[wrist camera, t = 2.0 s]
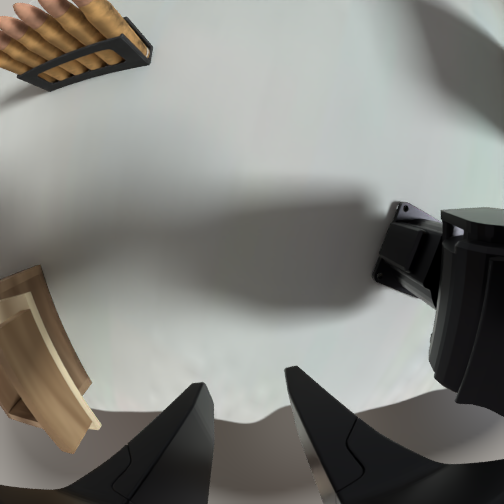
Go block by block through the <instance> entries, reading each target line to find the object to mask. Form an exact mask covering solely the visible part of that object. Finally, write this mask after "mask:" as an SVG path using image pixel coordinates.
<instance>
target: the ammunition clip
mask: <svg viewBox="0 0 504 504" xmlns="http://www.w3.org/2000/svg"><path fill="white" fill-rule="evenodd" d="M72 1H73V2H74V3H75V4H76V5H77V6H78V8H77V7H76V6H74V5H73V4H72V3H70V2H68V1H67V0H38V2H39V3H40V5H41V6H42V7H43V8H44V9H45V10H46V11H47V12H48V13H49V14H50V15H49V14H48V13H45V12H44V11H42V10H41V9H39V8H37V7H35V6H32V5H29V4H25V3H15V4H14V5H13V8H14V11H15V13H16V14H17V16H18V17H19V18H20V19H21V20H22V21H21V20H18V19H16V18H12V17H7V16H0V29H1V30H2V31H1V30H0V68H3V69H6V70H8V71H11V72H13V73H16V74H19V75H17V78H18V79H21V80H23V81H26V82H28V83H31V84H33V85H35V86H38V87H40V88H42V89H45V90H47V91H50V92H51V91H53V90H56V89H59V88H62V87H64V86H67V85H70V84H73V83H76V82H80V81H83V80H86V79H90V78H93V77H97V76H101V75H104V74H108V73H112V72H117V71H121V70H126V69H131V68H136V67H141V66H147V65H150V63H151V56H152V51H153V46H152V45H151V44H150V43H149V41H148V40H147V39H146V38H145V37H144V36H143V35H142V33H141V32H140V31H139V30H138V29H137V28H136V26H135V25H134V24H133V23H132V22H131V21H130V20H129V18H128V17H124V18H123V17H122V16H121V15H120V14H119V13H118V11H117V10H116V9H115V8H114V7H113V6H112V4H111V3H110V2H108V1H107V0H72Z"/></svg>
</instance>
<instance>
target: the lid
mask: <svg viewBox="0 0 504 504" xmlns="http://www.w3.org/2000/svg"><path fill="white" fill-rule="evenodd" d="M0 363H1V365H2V367H3V368H4V370H5V372H6V374H7V376H8V377H9V379H10V381H11V382H12V384H13V386H14V387H15V389H16V391H17V392H18V394H19V395H20V397H21V398H22V400H23V401H24V403H25V404H26V406H27V407H28V409H29V410H30V412H31V413H32V414H33V416H34V417H35V418H36V420H37V421H38V422H39V424H40V425H41V426H42V428H43V429H44V430H45V431H46V433H47V434H48V435H49V436H50V437H51V439H52V440H53V441H54V442H55V444H56V445H57V446H58V447H59V448H60V449H61V450H62V451H64V452H67V453H71V454H74V452H75V451H76V449H77V447H78V445H79V444H80V442H81V440H82V439H83V437H84V435H85V433H86V432H87V430H88V429H96V430H99V429H100V427H101V423H100V422H99V421H98V419H97V418H96V416H95V415H94V413H93V412H92V411H91V409H90V408H89V406H88V405H87V403H86V402H85V400H84V399H83V397H82V395H81V394H80V392H79V391H78V389H77V387H76V386H75V384H74V382H73V381H72V379H71V377H70V376H69V374H68V372H67V370H66V369H65V367H64V365H63V363H62V361H61V359H60V357H59V355H58V354H57V352H56V350H55V348H54V346H53V344H52V341H51V339H50V337H49V335H48V333H47V331H46V329H45V326H44V324H43V322H42V319H41V317H40V315H39V312H38V310H37V307H36V305H35V302H34V299H33V297H32V294H31V292H27V293H24V294H20V295H17V296H13V297H10V298H6V299H3V300H0Z"/></svg>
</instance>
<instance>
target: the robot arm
mask: <svg viewBox="0 0 504 504" xmlns="http://www.w3.org/2000/svg"><path fill="white" fill-rule="evenodd" d="M404 206H406V210H405V211H404V210H403V207H404ZM441 220H442V222H440V221H439V220H437V219H435V218H434V217H432V216H430V215H429V214H427V213H425V212H424V211H422V210H420V209H418V208H417V207H415V206H413V205H411V204H410V203H408V202H401V203H400V204H399V206H398V209H397V212H396V214H395V217H394V220H393V223H391V224H390V227H389V229H388V232H387V235H386V237H385V240H384V243H383V245H382V248H381V250H380V253H379V254H380V257H379V259H378V261H377V264H376V266H375V269H374V271H373V274H372V278H373V279H374V280H375V281H376V282H378V283H381V284H383V285H386V286H389V287H391V288H394V289H397V290H399V291H402V292H405V293H407V294H410V295H412V296H415V297H418V298H420V299H421V300H423V301H424V302H425V303H427V304H428V305H430V306H431V307H432V308H434V309H435V310H436V315H435V321H434V327H433V333H432V334H431V338H430V348H429V362H430V364H431V366H432V368H433V371H434V372H435V374H434V378H435V379H436V380H437V381H438V382H439V383H440V384H441V385H443V386H444V387H446V388H447V389H449V390H451V391H453V392H455V393H458V394H457V396H456V399H455V402H456V403H459V404H473V405H477V406H481V407H485V408H487V409H490V410H492V411H494V412H496V413H498V414H499V415H501V416H503V417H504V209H498V208H489V207H481V208H464V209H448V210H441ZM379 273H380V274H381V275H380V277H378V278H377V275H378V274H379ZM284 372H285V378H286V384H287V390H288V394H289V399H290V403H291V407H292V411H293V415H294V420H295V424H296V428H297V432H298V435H299V438H300V441H301V444H302V447H303V449H304V452H305V455H306V458H307V460H308V463H309V466H310V469H311V471H312V474H313V477H314V480H315V482H316V485H317V488H318V490H319V493H320V496H321V499H322V501H323V504H504V459H502V460H495V461H488V462H479V463H468V464H443V463H439V462H435V461H432V460H430V459H428V458H425V457H423V456H421V455H419V454H417V453H415V452H413V451H411V450H409V449H407V448H405V447H403V446H401V445H399V444H398V443H396V442H394V441H392V440H390V439H389V438H387V437H385V436H384V435H382V434H380V433H379V432H377V431H376V430H374V429H373V428H372V427H370V426H369V425H368V424H366V423H365V422H364V421H363V420H361V419H360V418H358V417H357V416H356V415H355V414H354V413H352V412H351V411H350V410H349V409H347V408H346V407H345V406H344V405H343V404H341V403H340V402H339V401H338V400H337V399H335V398H334V397H333V396H332V395H331V394H329V393H328V392H327V391H326V390H325V389H324V388H322V387H321V386H320V385H319V384H318V383H316V382H315V381H314V380H313V379H312V378H311V377H310V376H308V375H307V374H306V373H305V372H304V371H303V370H302V369H300V368H299V367H298V366H292V367H288V368H285V370H284ZM213 451H214V403H213V400H212V397H211V395H210V393H209V391H208V388H207V386H206V384H205V383H203V382H200V383H192V384H191V385H190V386H189V387H188V388H187V389H186V390H185V391H184V392H183V393H182V394H181V395H180V396H178V397H177V398H176V399H175V400H174V401H173V402H172V403H171V404H170V405H169V406H168V407H167V408H166V409H165V410H164V411H163V412H162V413H161V414H159V416H157V417H156V418H155V419H154V420H153V421H152V422H151V423H150V424H149V425H148V426H146V427H145V428H144V429H143V430H142V431H141V432H140V433H139V434H138V435H137V436H135V437H134V438H133V439H132V440H131V441H130V442H129V443H128V445H125V446H124V447H123V448H122V449H121V450H120V451H118V452H117V453H116V454H115V455H113V456H112V457H111V458H110V459H108V460H107V461H106V462H104V463H103V464H102V465H100V466H99V467H97V468H96V469H94V470H93V471H91V472H90V473H88V474H87V475H85V476H84V477H82V478H80V479H79V480H77V481H76V482H74V483H73V484H71V485H69V486H67V487H64V488H61V489H55V490H44V489H28V488H19V487H10V486H4V485H0V504H208V495H209V486H210V477H211V468H212V460H213Z"/></svg>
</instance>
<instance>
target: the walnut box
mask: <svg viewBox="0 0 504 504" xmlns="http://www.w3.org/2000/svg"><path fill="white" fill-rule="evenodd" d="M27 292H31V294H32V297H33V299H34V302H35V305H36V307H37V310H38V312H39V315H40V317H41V319H42V322H43V324H44V326H45V329H46V331H47V333H48V335H49V337H50V339H51V341H52V344H53V346H54V348H55V350H56V352H57V354H58V355H59V357H60V359H61V361H62V363H63V365H64V367H65V369H66V370H67V372H68V374H69V376H70V377H71V379H72V381H73V382H74V384H75V386H76V387H77V389H78V391H79V392H80V394H81V395H82V396H83V394H84V393H85V392H86V390H87V389H88V388H89V386H90V385H91V384H92V382H91V380H90V378H89V377H88V375H87V373H86V371H85V370H84V368H83V366H82V364H81V362H80V360H79V358H78V356H77V354H76V352H75V350H74V348H73V346H72V344H71V342H70V340H69V338H68V336H67V334H66V332H65V329H64V327H63V325H62V323H61V320H60V318H59V316H58V313H57V311H56V308H55V306H54V303H53V301H52V298H51V295H50V293H49V290H48V287H47V284H46V281H45V278H44V275H43V272H42V269H41V266H40V265H37V266H34V267H31V268H29V269H26V270H23V271H21V272H18V273H15V274H13V275H10V276H8V277H5V278H3V279H0V300H3V299H6V298H10V297H13V296H17V295H20V294H24V293H27ZM0 406H1V407H2V409H3V410H4V411H5V413H6V414H7V416H8V417H9V418H11V419H13V420H17V421H19V422H23V423H26V424H29V425H32V426H35V427H39V428H42V426H41V425H40V424H39V422H38V421H37V420H36V418H35V417H34V416H33V414H32V413H31V412H30V410H29V409H28V407H27V406H26V404H25V403H24V401H23V400H22V398H21V397H20V395H19V394H18V392H17V391H16V389H15V387H14V386H13V384H12V382H11V381H10V379H9V377H8V376H7V374H6V372H5V370H4V368H3V367H2V365H1V363H0ZM42 429H43V428H42Z"/></svg>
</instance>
